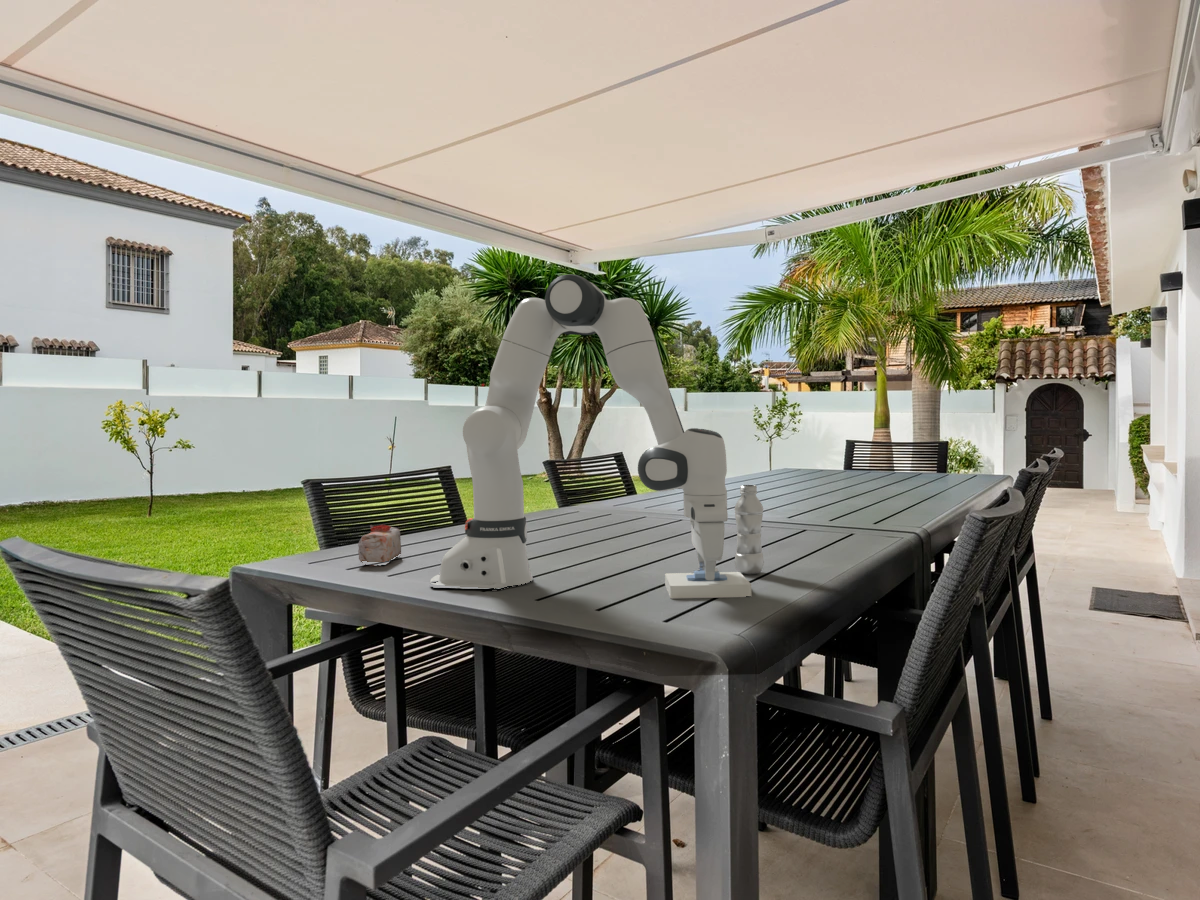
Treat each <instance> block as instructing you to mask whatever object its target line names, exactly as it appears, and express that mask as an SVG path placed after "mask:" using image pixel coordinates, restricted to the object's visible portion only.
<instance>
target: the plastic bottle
mask: <svg viewBox="0 0 1200 900" xmlns="http://www.w3.org/2000/svg"><path fill="white" fill-rule="evenodd" d="M739 487H740V488H739V489H740V491H739V494H740V497H739V498H738V500H737V502H736V503H735V506H734V517H735V518H734V519H735V523H736V533H737V534H736V540H737V541H736V552H735V555H734V556H735V557H734V567H735V569H736V572H740V573H741V574H746V575H752V574H753V575H754V574H758V573H761V572H762V571H763V569H764V564H765V561H764V554H763V549H762V523H763V515H764V506H763V504H762V502H761V501H760V499H759V498H758V497H757V494H758V491H757V484H742V485H740V486H739Z"/></svg>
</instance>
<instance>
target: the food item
mask: <svg viewBox="0 0 1200 900" xmlns="http://www.w3.org/2000/svg"><path fill="white" fill-rule="evenodd" d="M369 527H370V533H367V534H364V535H362V536H361V538H360V540H359V541H358V543H357V547H358V551H357V552H358V560H359V561H360V563H361V562H362V561H367V562H385V561H389V560H391V559H393V558H394V557H396V556H398V555H399V554H401V555H402V545H401V544H402V542H401V529H399V528H397V527H394V526H393V527H392V526H390V525H386V524H385V523H382V524H379V525H372V524H370V525H369ZM362 563H363V562H362Z"/></svg>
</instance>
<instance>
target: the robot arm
mask: <svg viewBox="0 0 1200 900" xmlns="http://www.w3.org/2000/svg"><path fill="white" fill-rule="evenodd" d="M544 296H545V297H544V299H543V298H539V297H528V298H524V299H523V300H521V301H520V302H519V303H518V305H517V306H516V308H515V310H514V312H513V314H512V316H511V318H510V320H509V321H508V324H507V327H506V328H505V331H504V333H503V336H502V339H501V342H500V345H499V346H498V349H497V353H496V355H495V359H494V362H493V364H492V368H491V370H490V372H489V373H490V374H489V385H488V391H487V395H486V396H487V397H486V401H485V405H483V406H481V407H478V408H477V409H475V410H473V412H472V413H470V414H469V416H468V417H467V418H466V419H465V421H464V423H463V426H462V437H463V440H464V441H463V442H464V443H465V445H466V453H467V458H468V463H469V464H468V465H469V469H470V474H471V481H472V493H473V494H472V495H473V496H472V498H473V518H472V517H471V518H470V517H469V518H468V519H467V520H466V521H465V523H464V532H465V533H464V534H465V535H466V536H465V537H463V538H462V539H461V540H459V541H458V542H457V543H456V544H454V546H453V547H451V548H450V549H449V550H448V551H447V552H445V554H444V555H443V557H442V559H441V563H440V569H439V574H440V575H439V574H438V573H437V574H436V575H434V576H433V577H431V578H430V580H429V584H430V583H431V582H433V581H438V582H436V583H431V584H433V585H445V586H460V587H478V588H494V589H495V588H503V587H507V586H512V587H514V586H513V585H518V586H522V585H525V583H526V584H529V583H531V582H532V581H533V580H534V577H533V574H532V571H531V568H530V564H529V559H528V558H529V557H528V553H527V541H528V540H527V539H528V522H527V518H526V516H525V508H524V507H525V504H524V502H525V501H524V499H525V498H524V495H525V494H524V480H523V477H522V473H521V468H520V461H519V453H518V452H519V451H518V450H519V449H520V448H521V447H522V445H523V444H524V443H525V441H526V438H527V435H528V431H529V428H530V424H531V421H532V418H533V414H534V409H535V404H536V399H537V396H538V391H539V389H540V385H541V383H542V379H543V377H544V374H545V371H546V369H547V366H548V363H549V360H550V357H551V354H552V353H553V348H554V345H555V343H556V341H557V340H558V338H559V337H560V335H561V334H565V335H569V336H570V335H574V336H576V335H577V336H590V335H594V334H597V335H598V337H599V339H600V342H601V344H602V345H601V346H602V347H603V352H604V354H605V359H606V362H607V363H606V364H607V367H608V369H609V372H610V374H611V376H612V377H613V379H614V381H615V384H616V385H617V386H618V388H619V389H621V390H623V391H624V392H626V393H627V394H629V395H631V396H632V397H633V398H634V399H635V400H637V401H638V402H639V403H640V404H641V406H642V407H643V408H644V410H645V411H646V414H647V416H648V419H649V423H650V425H651V427H652V430H653V433H654V436H655V440H656V441H657V445H655V446H653V447H650V448H648V449H647V450H645V451H644V452H643V453H642V454H641V456H640V457H639V460H638V463H637V473H638V477H639V479H640V482H641V483H642V484H643V485H644V486H645V487H646V488H648V489H649V490H652V491H656V492H667V491H675V490H680V489H682V491H683V516H684V517H685V518H689V525H691V528H690V529H691V530H690V532H691V535H690V536H691V544H692V546H693V547H694V548H695V550H696V555H697V562H698V563H697V564H698V569H699V571H704V570H705V579H706V580H707V581H709V580H714V579H715V568H716V566H717V562H720V561H722V559H723V555H724V545H725V529H726V527H725V523H726V522H727V521H728V519H729V518H728V515H729V514H728V493H727V492H728V490H727V487H726V476H727V472H728V471H727V470H728V468H727V464H728V463H727V452H726V451H727V450H726V444H725V441H724V438H723V436H722V435H721V434H720V433H719V432H717V431H714V430H712V429H711V430H710V429H705V428H695V427H694V428H693V427H691V428H688V429H686V430H684V426H683V424H682V421H681V418H680V416H679V412H678V410H677V407H676V404H675V402H674V399H673V397H672V396H673V395H672V393H671V391H670V388H669V384H668V382H667V378H666V375H665V372H664V368H663V364H662V360H661V356H660V352H659V349H658V346H657V341H656V337H655V335H654V332H653V329H652V326H651V325H650V322H649V320H648V317H647V315H646V313H645V311H644V309H643V307H642V305H641V304H640V303H639V301H637V300H635V299H634V298H630V297H619V298H614V299H610V300H609V299H608V297H607V296H606V295H605V294H604V292H602V290H601V289H600V288H599V287H598V285H596V284H594V283H593V282H591V281H589V280H587V279H586V278H584V277H583V276H580V275H577V274H570V273H569V274H564V275H563V274H562V275H560V276H557V277H556V278H555V279H553V280H552V281H551V283H550V284H549V285H548V287H547V289H546V292H545V295H544ZM530 581H531V582H530ZM521 584H522V585H521ZM507 588H508V587H507Z"/></svg>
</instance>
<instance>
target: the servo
mask: <svg viewBox="0 0 1200 900" xmlns="http://www.w3.org/2000/svg"><path fill="white" fill-rule="evenodd" d="M693 573H694V575H686V578H687V580H688V581H707V580H706V579H705V570H704V571H700V570H693ZM720 580H727V577H726V575H720V573H719V570H718V568H716V567H715V579H714V580H709V581H720Z"/></svg>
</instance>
